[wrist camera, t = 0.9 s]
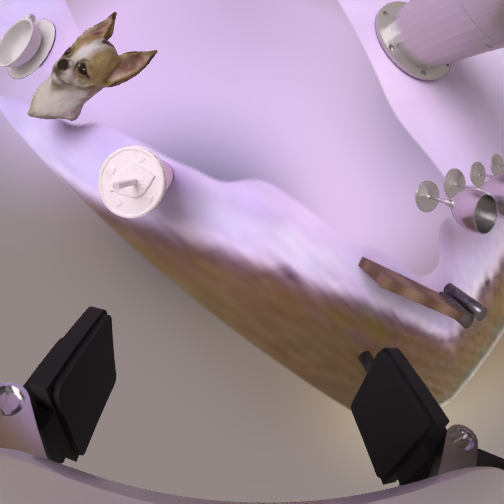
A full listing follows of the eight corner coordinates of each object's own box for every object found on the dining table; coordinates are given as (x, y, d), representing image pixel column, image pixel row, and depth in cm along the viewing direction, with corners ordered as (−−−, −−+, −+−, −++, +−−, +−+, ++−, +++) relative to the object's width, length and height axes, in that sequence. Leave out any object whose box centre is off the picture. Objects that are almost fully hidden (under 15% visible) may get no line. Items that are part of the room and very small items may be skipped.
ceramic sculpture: (2, 87, 19) (98, -12, 18) (39, 98, 28) (119, 18, 26) (41, 144, 22) (150, 34, 21) (77, 147, 30) (165, 62, 29)
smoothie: (189, 197, 33) (158, 222, 20) (138, 207, 33) (83, 238, 20) (179, 143, 31) (141, 133, 18) (128, 155, 31) (66, 157, 18)
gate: (446, 294, 39) (475, 317, 31) (440, 305, 40) (468, 329, 32) (364, 254, 36) (392, 277, 29) (357, 267, 37) (383, 294, 29)
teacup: (44, 76, 27) (25, 69, 22) (2, 82, 26) (-17, 79, 21) (65, 15, 24) (50, 4, 20) (20, 26, 23) (4, 18, 18)
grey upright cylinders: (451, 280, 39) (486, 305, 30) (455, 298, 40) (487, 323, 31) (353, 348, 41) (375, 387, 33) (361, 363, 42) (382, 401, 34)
